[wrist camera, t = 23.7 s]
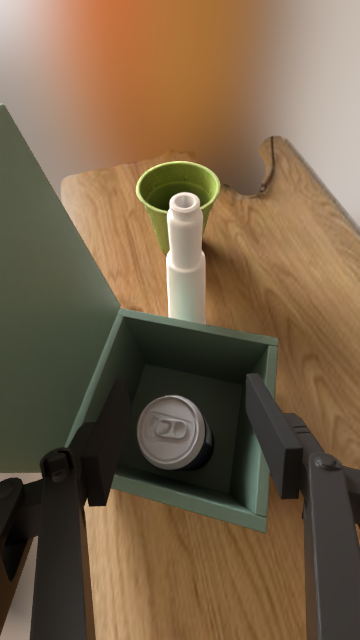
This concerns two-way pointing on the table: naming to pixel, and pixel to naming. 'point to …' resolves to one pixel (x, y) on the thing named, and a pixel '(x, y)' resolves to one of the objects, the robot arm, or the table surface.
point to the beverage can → (174, 434)
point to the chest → (210, 397)
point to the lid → (43, 310)
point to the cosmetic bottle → (186, 259)
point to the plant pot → (175, 192)
